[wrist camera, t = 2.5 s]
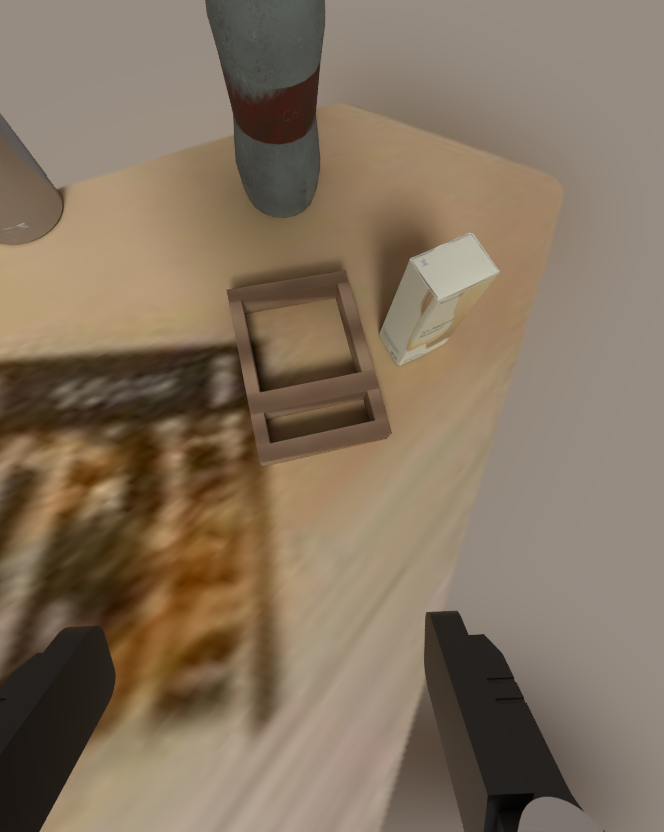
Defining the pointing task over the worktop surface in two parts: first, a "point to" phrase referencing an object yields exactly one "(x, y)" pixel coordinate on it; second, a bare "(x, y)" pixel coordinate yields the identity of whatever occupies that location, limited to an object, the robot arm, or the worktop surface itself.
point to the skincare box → (436, 297)
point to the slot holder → (313, 392)
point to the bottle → (272, 95)
